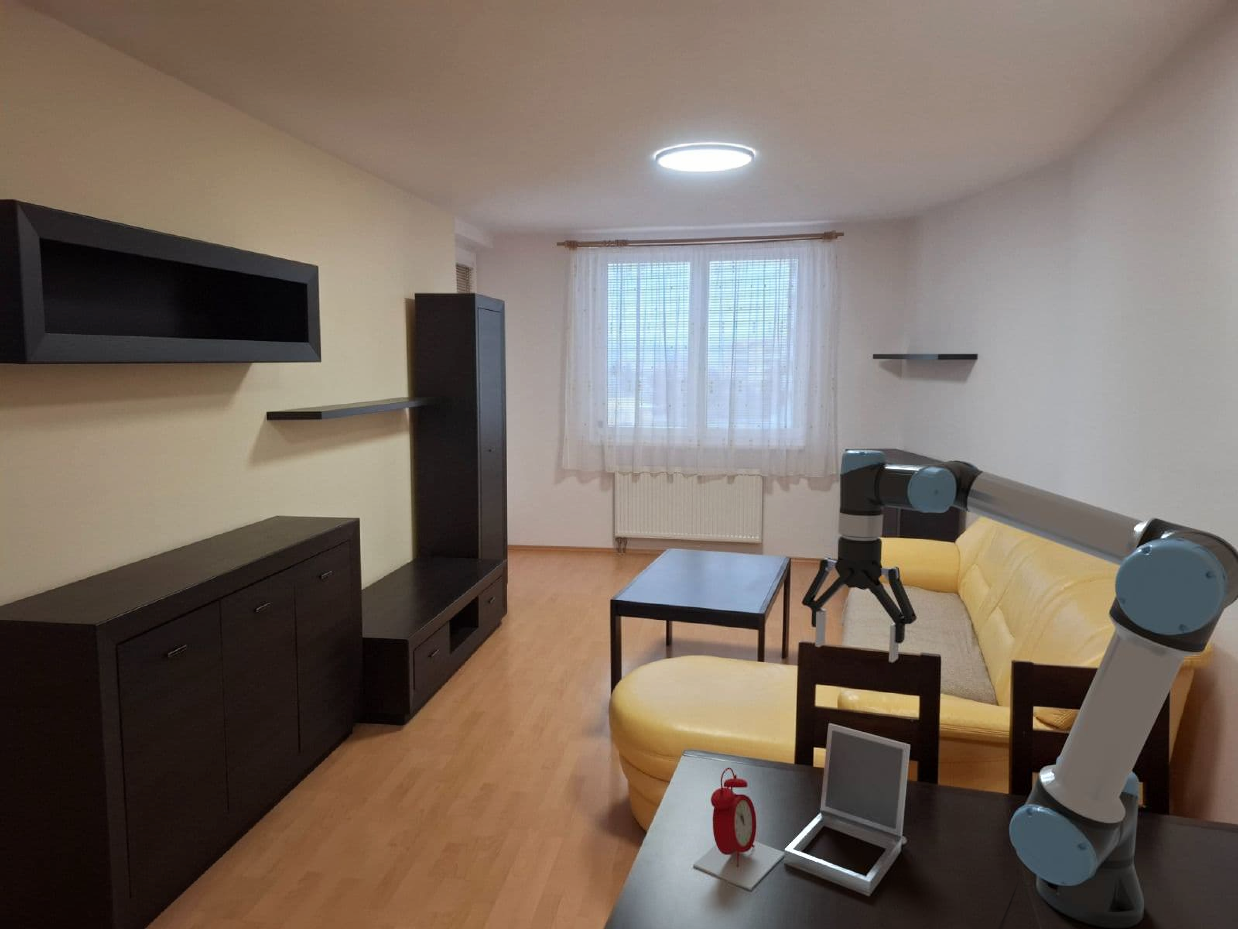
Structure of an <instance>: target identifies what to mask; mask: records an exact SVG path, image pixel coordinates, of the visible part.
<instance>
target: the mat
mask: <svg viewBox="0 0 1238 929" xmlns="http://www.w3.org/2000/svg"><path fill="white" fill-rule="evenodd" d="M753 845H754V846H755V847H754V848H753V847H751V849H750V850H749V851H747V852H739V861H738V865H739V867H737V866H736V865H737V852H734V853H732V854H730V855H725V854H722V853H721V852H720V850H719V849H718V847H717V845H716V844H715V845H713V846H712V847H711V848H710V849H709V850H708V851H707V852H705V853H704V854H703V855H702V856H700V857H699V859H697V860H696V861H695V862H694V863H693V866H692V867H694V868H696V869H698V870H700V871H702V872H705V873H708V874H710V875H712V876H714V877H717V878H719V879H722V880H724V881H727V882H729V883H732V884H733V885H736V886H739V887H741V888H744V889H746V890H747V891H750V892H751V891H752V890H753V889H754V888H755V886H757V885H758V884H759V882H761V881H762V879H763V878H764V877H765V876H766V875H768V873H769V872H770V871H771V870H772V869H773V868H774V867H775V866H776V865H777V864H778V863H779V862H780V861H781V860H782V859H783V857H784V851H781V850H779V849H776V848H773V847H771V846H769V845H766V844H763V843H760V842H758V841H756V840H754V843H753Z"/></svg>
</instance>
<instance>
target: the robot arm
mask: <svg viewBox="0 0 1238 929" xmlns="http://www.w3.org/2000/svg"><path fill="white" fill-rule="evenodd" d="M839 478H840V479H839V488H840V490H839V511H838V512H839V513H838V530H837V532H838V534H839V535H840V536H839V537H838V538H837V560H833V559H831V558H830V557H826V558H822V559H820V562H819V568H818V572H817V573H816V574H815V577H814V579H813V580H812V582H811V584H810V586H809V588H808V590H807V591H806V593H805V595H804V596H803V598H802V601H801V604H802V605H803V606H805V607H808V608H809V609H810V610H811V621H810V622H811V627H812V628H815V643H814V644H815V647H816V648H817V647H818V648H820V647H822V646H823V645H825V644H826V623H827V622H826V620H827V619H826V617H827V609H825V608H823V607H824V606H825V605H826V603H828V601H830V599H831V598H833V596H834V595H835V594H837V592H838V591H840V589H842V587H844V586H847V588H850V589H851V588H852V589H853V588H854V589H855V588H856V589H859V590H863V591H865V590H868V589H869V591H870V593H871V594H873V595H874V596H875V598H876V599H877V600H878V602H879V603H880V605H881V606H882V607H883V609H884V611H885V612H886V613H887V615H888V616H889V617H890V618H891V620H892V622H893V623H892V624H890V626H889V645H888V646H889V652H888V662H889V663H895V661H896V660H898V659H899V645H901V644H902V643H904V641H905V635H906V634H905V633H906V625H911V624H913V623H914V622H915V621H916V620H917V615H916V613H915V610H914V608H913V606H912V604H911V601H910V598H909V597H908V594H907V592H906V589H905V587H904V584H903V583H902V581H901V575H900V572H901V571H900V568H899V567H898V566H893V567H883V565H882V551H883V550H882V547H883V546H882V545H883V541H882V539H881V538H880V537H882V535H883V521H884V520H883V519H884V508H895V509H902V510H908V511H914V512H915V511H917V512H920V513H924V514H926V513H934V514H935V513H937V514H940V513H941V514H942V513H945V512H947V511H948V510H949V509H950V507H954V508H956V509H960V510H963V511H966V512H969V513H972V514H976V515H978V516H981V517H983V518H986V519H988V520H992V521H995V522H996V523H997V522H998V523H1000V524H1002V525H1005V526H1008V527H1011V528H1015V529H1016V530H1019V531H1022V532H1026V533H1028V534H1031V535H1033V536H1036V537H1038V538H1039V537H1040V538H1042V539H1045V540H1047V541H1051V542H1053V543H1056V544H1059V545H1062V546H1064V547H1067V548H1070V549H1072V550H1075V551H1078V552H1081V553H1084V554H1087V555H1088V556H1092V557H1095V558H1098V559H1101V560H1104V561H1107V562H1109V563H1112V564H1115V565H1118V566H1119V568H1118V570H1117V573H1116V575H1115V580H1114V581H1115V582H1114V593H1115V597H1114V600H1113V602H1112V604H1111V606H1110V609H1109V612H1108V617H1109V619H1110V622H1111V623H1112V624H1113V626H1114V632H1113V634H1112V637H1111V638H1110V641H1109V643H1108V645H1107V647H1106V650H1105V652H1104V655H1103V656H1102V659H1101V661H1100V664H1099V666H1098V668H1097V670H1096V673H1095V674H1094V677H1093V680H1092V681H1091V684H1090V686H1089V689H1088V691H1087V694H1086V695H1085V697H1084V699H1083V702H1082V705H1081V707H1080V709H1079V711H1078V714H1077V715H1076V717H1075V720H1074V722H1073V724H1072V727H1071V729H1070V732H1069V735H1068V736H1067V739H1066V741H1065V744H1064V746H1063V748H1062V750H1061V753H1060V755H1059V756H1057V758H1056V761H1055V764H1052V765H1046V766H1043V768H1041V769H1040V771H1039V772H1038V775H1037V778H1036V781H1035V783H1034V785H1033V787H1032V789H1031V791H1030V794H1029V796H1028V798H1027V800H1026V802H1025V803H1024V805H1022V806H1019V808H1017V809H1016V811H1015V812H1014V814H1013V816H1012V817H1011V819H1010V823H1009V827H1008V828H1009V830H1008V831H1009V838H1010V841H1011V844H1012V846H1013V847H1014V850H1015V851H1016V855H1017V856H1018V858H1019V859H1020V860H1021V861H1022V863H1023V864H1024V865H1025V867H1027V868H1028V869H1029V870H1030V871H1031V872H1032V873H1033V874H1035V875H1036V889H1037V892H1038V893H1039V895H1040V897H1041V898H1043V900H1044V901H1045V902H1046V903H1047V904H1049V905H1050V906H1051V907H1052V908H1054V909H1055V910H1057V911H1058V912H1060V913H1062V914H1063V915H1066V916H1067V917H1070V918H1071V919H1074V920H1077V921H1079V922H1082V923H1085V924H1088V925H1092V926H1096V927H1101V928H1107V929H1108V928H1109V929H1126V928H1130V927H1134V926H1135V925H1138V924H1139V923H1140V922H1141V921H1142V920H1143V918H1144V911H1145V910H1144V908H1145V907H1144V906H1145V900H1144V895H1143V892H1142V890H1141V886H1140V882H1139V878H1138V875H1137V872H1136V868H1135V864H1134V863H1135V862H1134V860H1135V852H1136V851H1135V849H1136V837H1137V827H1138V826H1137V824H1138V813H1139V812H1138V810H1139V799H1140V797H1141V793H1140V780H1139V778H1138V776H1137V775H1136V774H1135V772H1133V768H1134V767H1135V765H1136V763H1137V760H1138V758H1139V756H1140V753H1141V751H1142V750H1143V748H1144V745H1145V743H1146V741H1147V740H1148V737H1149V734H1150V733H1151V731H1152V728H1153V726H1154V725H1155V723H1156V720H1157V718H1158V715H1159V713H1160V712H1161V709H1162V707H1163V705H1164V703H1165V700H1166V699H1167V697H1168V694H1169V693H1170V690H1171V688H1172V686H1173V685H1174V684H1173V683H1174V681H1175V680H1176V677H1177V676H1178V673H1179V671H1180V669H1181V667H1182V665H1183V664H1184V660H1185V659H1186V658H1188V657H1192V656H1193V657H1194V656H1197V655H1201V654H1203V653H1204V651H1205V649H1206V647H1207V645H1208V643H1209V641H1210V639H1211V637H1212V635H1213V633H1214V630H1215V629H1216V627H1217V625H1218V624H1219V620H1220V618H1221V617H1222V614H1223V613H1224V610H1225V609H1227V608H1228V607H1229V606H1230V605H1232V604H1234V603H1235V602H1236V601H1237V600H1238V550H1237V549H1236V547H1234V546H1233V545H1232V544H1231V543H1229V542H1228V541H1227V540H1225V538H1222V537H1220V536H1218V535H1216V534H1214V533H1211V532H1208V531H1205V530H1201V529H1196V528H1193V527H1189V526H1185V525H1181V524H1177V523H1174V522H1170V521H1167V520H1163V519H1159V518H1156V517H1152V518H1149V519H1146V520H1140V519H1138V518H1134V517H1132V516H1128V515H1124V514H1122V513H1118V512H1116V511H1112V510H1109V509H1105V508H1103V507H1099V506H1096V505H1094V504H1093V505H1092V504H1090V503H1086V502H1083V501H1079V500H1077V499H1073V498H1070V497H1067V496H1064V495H1061V494H1058V493H1055V492H1051V491H1049V490H1048V491H1047V490H1045V489H1042V488H1038V487H1035V486H1032V485H1029V484H1025V483H1022V482H1019V481H1015V480H1012V479H1010V478H1007V477H1006V478H1005V477H1003V476H999V475H997V474H995V473H994V474H993V473H990V472H987V471H983V470H980V469H979V468H978V467H977V466H976V465H974V464H973V463H971V462H969V461H962V460H956V459H955V460H948V461H945V462H935V463H928V464H919V465H918V464H917V465H909V464H893V463H888V462H887V460H886V453H885V452H883V451H881V450H874V449H873V450H872V449H850V450H846V451H845V452H843V453H842V456H841V465H840V473H839ZM834 569H835V570H836V573H837V574H838V575H839V576H838V577H837V579H835V580H834V582H833V583H832V584H831V585H830V586H829V587H828V588H827V589H826V590H825V591H824V592H823V593H822V594H821V595H820V596H819V597H818V598H817V599H816V600H815V598H816V597H817V595H818V593H819V591H820V590H821V587H823V585H824V583H825V581H826V579H827V577H828V575H829V573H830V572H831V571H834ZM882 576H884V578H885V579H886V580H887V581H888V583H889V586H890V590H892V593H893V596H894V598H895V601H896V603H895V601H894V599H892V598H891V596H890V595H889V593H888V591H887V590H886V589H885V587H884V585H883V583H882V582H881V580H880V578H881V577H882Z"/></svg>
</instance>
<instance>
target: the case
mask: <svg viewBox="0 0 1238 929" xmlns="http://www.w3.org/2000/svg"><path fill="white" fill-rule="evenodd" d="M823 827H827V828H830V829H832V830H836V831H837V832H840V833H842V834H846V835H848V836H851V837H854V838H856V839H859V840H862V841H864V842H867V843H868V844H869V843H870V844H872V845H875V846H877V847H880V848H882V849H885V850H884V852H882V854H881V856H880V857H879V858H878V860H877V861H876V863H875V864H874V865H873V867H872V868H871V869H870V871H869V872H868V873H867V875H866V876H865V875H863V874H860V873H857V872H854V871H852V870H849V869H847V868H843V867H841V866H839V865H836V864H833V863H831V862H828V861H826V860H823V859H820V858H817V857H815V856H812V855H810V854H807V853H804V852H803V851H804V849H806V848H807V846H808V845H809V844H810V843H811V842H812V840H813V839H814V838H815V837H816V836H817V835H818V833H819V832H820V831H821V830H822V829H823ZM901 850H902V845H901V836H899V835H896V834H893V833H890V832H887V831H884V830H881V829H878V828H875V827H872V826H869V825H866V824H863V823H860V822H857V821H854V820H851V819H848V818H845V817H842V816H839V815H836V814H833V813H830V812H827V811H824V810H821V809H820V812H819V814H818V815H817V816H816V817H814V819H813V820H811V822H810V823H809V824H808V825H807V826H806V827H804V829H803V830H802V831H801V832H800V833H799V834H798V835H797V836H796V837H795V838H794V839H793V840H792V841H791V843H789V845H787V846H786V848H785V849H784V851H783V852H784V856H783V857H784V860H783V863H784V865H787V866H790V867H793V868H795V869H798V870H801V871H803V872H806V873H808V874H811V875H813V876H815V877H818V878H821V879H823V880H826V881H829V882H831V883H834V884H836V885H839V886H841V887H844V888H846V889H849V890H852V891H855V892H857V893H860V894H862V895H865V896H867V897H870V895H872V893H873V892H874V890H875V889H876V888H877V886H878V884H880V882H881V881H882V879H883V878H884V877H885V875H886V873H887V872H888V870H889V869H891V868H890V867H891V866H892V865H893V863H894V862H895V861H896V859H897V858H898V856H899V855H900V853H901V852H902V851H901Z"/></svg>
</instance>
